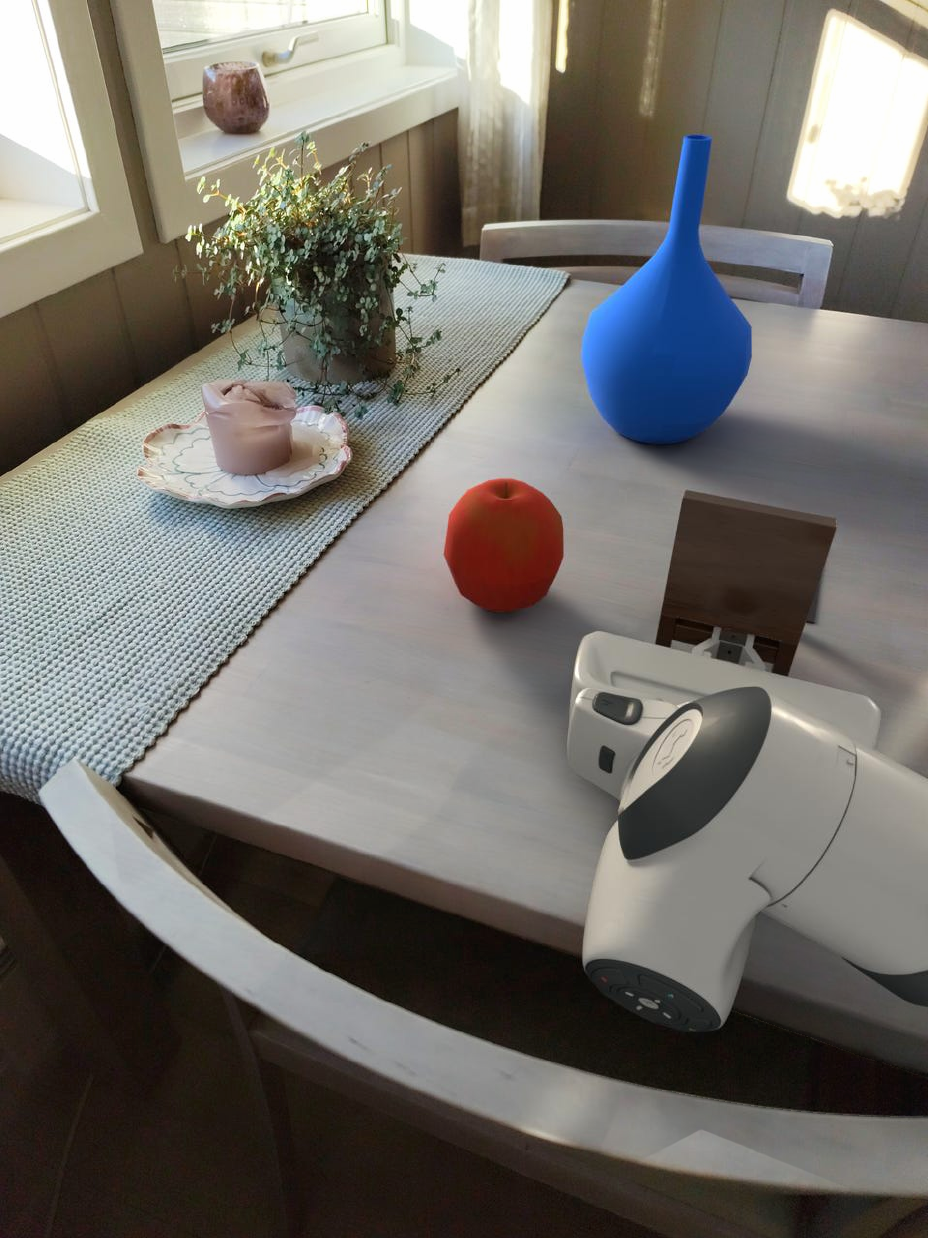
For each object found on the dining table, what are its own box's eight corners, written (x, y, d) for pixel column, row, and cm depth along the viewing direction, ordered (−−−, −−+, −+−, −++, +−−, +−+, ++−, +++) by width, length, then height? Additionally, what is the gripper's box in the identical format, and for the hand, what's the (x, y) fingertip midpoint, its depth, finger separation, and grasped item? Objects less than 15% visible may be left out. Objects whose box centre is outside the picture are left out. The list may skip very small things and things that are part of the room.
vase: (675, 380, 110) (719, 112, 91) (768, 444, 97) (842, 148, 78) (547, 406, 105) (566, 126, 85) (627, 477, 92) (670, 167, 73)
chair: (779, 701, 66) (837, 527, 56) (649, 669, 69) (682, 497, 59) (791, 623, 73) (844, 455, 63) (673, 596, 76) (706, 432, 66)
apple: (579, 616, 74) (592, 501, 67) (469, 644, 71) (470, 527, 64) (531, 552, 81) (537, 442, 74) (429, 574, 79) (426, 462, 71)
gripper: (894, 788, 49) (896, 639, 59) (551, 695, 55) (604, 573, 65) (862, 853, 53) (868, 703, 63) (545, 761, 59) (596, 636, 69)
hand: (732, 637), depth 64 cm, fingers closed, pressing on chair
